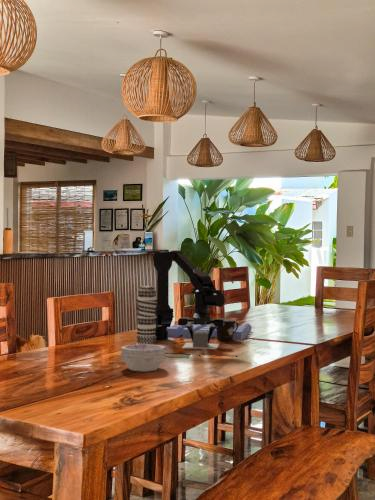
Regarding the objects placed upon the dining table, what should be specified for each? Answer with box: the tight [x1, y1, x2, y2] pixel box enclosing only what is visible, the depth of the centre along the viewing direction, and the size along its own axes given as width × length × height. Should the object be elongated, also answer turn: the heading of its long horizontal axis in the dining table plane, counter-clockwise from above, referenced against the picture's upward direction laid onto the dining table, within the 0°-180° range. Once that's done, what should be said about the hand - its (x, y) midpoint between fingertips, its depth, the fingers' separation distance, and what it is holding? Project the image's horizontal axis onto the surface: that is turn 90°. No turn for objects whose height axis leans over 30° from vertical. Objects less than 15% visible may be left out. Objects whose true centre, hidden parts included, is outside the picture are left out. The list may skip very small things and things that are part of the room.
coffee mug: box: [216, 318, 239, 342], centre depth 287 cm, size 12×9×10 cm
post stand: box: [181, 342, 220, 350], centre depth 269 cm, size 14×14×5 cm
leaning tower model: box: [135, 285, 158, 345], centre depth 278 cm, size 9×9×25 cm
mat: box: [165, 352, 192, 359], centre depth 255 cm, size 11×11×1 cm
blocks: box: [167, 322, 252, 341], centre depth 312 cm, size 35×34×5 cm
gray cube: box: [192, 331, 210, 347], centre depth 269 cm, size 6×6×6 cm
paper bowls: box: [120, 343, 166, 373], centre depth 225 cm, size 15×15×8 cm
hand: (201, 342), depth 269 cm, fingers closed on gray cube, 6 cm apart
